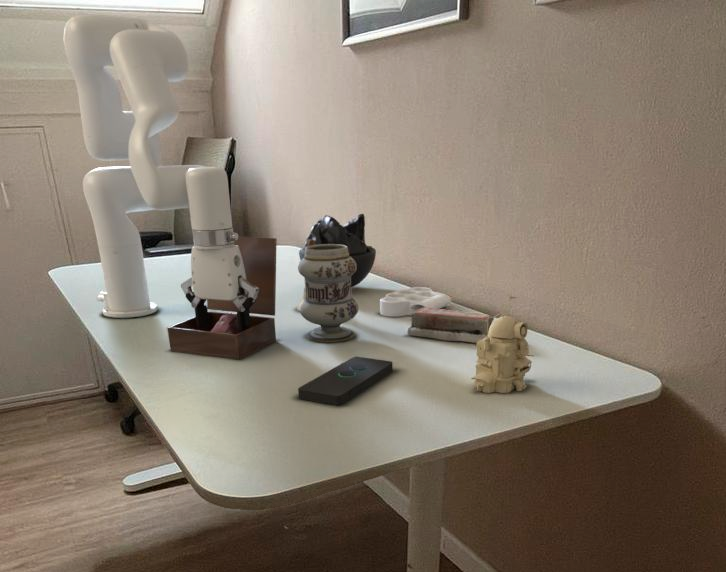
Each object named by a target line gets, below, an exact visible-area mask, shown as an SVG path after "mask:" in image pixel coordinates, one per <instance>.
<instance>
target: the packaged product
mask: <svg viewBox="0 0 726 572" xmlns="http://www.w3.org/2000/svg"><path fill="white" fill-rule="evenodd" d="M488 315H489V318H488ZM491 317H493V318H491ZM410 319H411V324H410V325H411V326H410V327H407V331H406V335H407V336H413V337H421V338H428V339H429V338H430V339H435V340H440V341H448V342H449V341H451V342H452V341H453V342H454V341H455V342H456V341H457V342H458V341H459V342H464V343H465V342H466V343H473V344H477V342H478V341H479V340H482V339H484V338H485V337H487V324H488V332H489V328H490V326H491V324H492V323H493V322H494V320H495V317H494V315H492V314H485V313H479V312H478V313H477V312H469V311H462V310H461V311H460V310H451V309H445V308H444V309H443V308H440V309H436V308H427V307H425V308H424V307H422V308H420V309H419V310H417V311H415V312H414V313H413V314H412V316H411V318H410Z"/></svg>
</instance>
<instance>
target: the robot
mask: <svg viewBox="0 0 726 572" xmlns="http://www.w3.org/2000/svg"><path fill="white" fill-rule="evenodd" d="M513 299H517V297H515V296H512V295H510V294H509V298H508V301H511V300H513ZM509 306H510V303H507V306H506V307H505V306H504V305H501V312H500V313H498V314H497V315H496V314H495V316H494V315H493V317H494V318H495V317H497V316H499V315H500V314H501V316H499V317H497V318H495V319H493V321H492V323H491V326H490V328H489V332H488V324H487V337H485V338H484V339H482V340H479V341H478V342H477V343H475V347H476V357H477V360H476V364H475V375H474V376H473V377H471V378H470V379H471V380H474V387H476V392H483V393H485V394H490V393H495V392H496V393H500V394H507V393H510V392H512V391H513V390H515V391H516V392H522V391H523V390H525V389H526V388H528V385H527V384H526V382H525V380H526V381H528V382H530V381H531V379H530V378H529V379H528V378H527V377H526V378H525V376H526V374H527V373H529V372H530V370H531V368H532V360H531V359H530V358H528V357H535V355H534V354H529V353H530V348H529V342H528V341H527V339H526V338H527V335H528V330H529V325H528V323H527V322H520V321H518V320H517V319H516V318H515V317H513V316H510V315H508V313H509V312H508V311H509V310H507V311H506V315H504V311H505V310H506V309H508V308H509ZM504 307H505V308H504ZM487 315H488V318H489V315H490V314H487ZM493 317H491V318H493Z"/></svg>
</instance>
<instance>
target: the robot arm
mask: <svg viewBox="0 0 726 572" xmlns="http://www.w3.org/2000/svg"><path fill="white" fill-rule="evenodd" d="M63 46H64V53H65V57H66V60H67V63H68V66H69V69H70V71H71V74H72V76H73V79H74V82H75V85H76V90H77V97H78V104H79V105H78V106H79V112H80V118H81V120H80V121H81V126H82V128H81V129H82V134H83V135H82V136H83V141H84V145H85V148H86V151H87V153H88V155H89V156H90V157H91V158H92V159H95V160H98V161H105V162H113V161H114V162H115V161H128V162H129V166H128V165H127V166H106V167H105V166H104V167H97V168H94V169H92V170H89V171H88V172H87V173H86V174H85V176H84V177H83V179H82V190H83V194H84V198H85V201H86V203H87V207H88V209H89V212H90V215H91V219H92V223H93V227H94V232H95V237H96V243H97V247H98V253H99V259H100V265H101V270H102V276H103V281H104V288H105V291H100V292H99V294H98V295H97V296H96V300H97V302H102V303H103V302H104V306H103V308H102V314H103V315H104V316H106V317H109V318H116V319H128V318H139V317H144V316H148V315H149V316H150V315H151V314H154V313H156V312H157V311H158V310H159V308H158V304H157V303H155V302H152V301H151V299H150V293H149V286H148V279H147V271H146V267H145V261H144V260H145V257H144V253H143V245H142V241H141V240H142V239H141V234H140V232H139V229H138V228H137V226H136V225H135V224H134V222H132V220H131V219H130V218H129V217H128V215H127V214H129V213H138V212H147V211H148V212H149V211H155V210H156V211H169V210H170V211H171V210H180V209H188V211H189V216H190V225H191V232H192V233H191V234H192V240H193V241H192V243H193V246H191V252H190V254H191V255H190V272H191V277H189V278H188V279H187V280H185V281H184V282H182V283H180V288H181V290H182V292H183V293H184V295H185V299H186V300H187V301H188V302H189V303H190V306H191V307H192V309H194V314H195V316H196V322H197V327H198V328H203V327H205V326H208V325H209V318H208V310H209V309H207V304H205V303H207V300H218V301H233V303H234V304H235V305H236V307H237V308H238V309H239V311H238V312H236V314H237V320H238V330H239V332H243V331H245V330H247V329H249V328H250V315H251V313H249V309H251V307H252V305H253V304H254V303H255V301H256V298H257V295H258V292H259V288H258V287H257V286H255V285H253V284H252V283H250V282H249V281H247V280H246V274H245V269H244V264H243V260H242V256H241V252H240V250H239V247H238V245H234V240H238V236H239V234H238V233H237V232H235V231H234V228H233V220H232V210H231V200H230V188H229V179H228V174H227V172H226V170H225V169H224V168H223V167H220V166H205V165H203V164H179V165H177V164H176V165H175V164H174V165H163V159H162V146H161V137H160V132H162V131H164V130H165V129H167V128H169V127H170V126H171V125H173V123H175V122H176V120H177V118H178V117H179V114H180V107H179V103H178V101H177V99H176V97H175V96H176V95H175V94H174V91H173V89H172V87H171V84H170V83H179V82H181V81H183V80H184V79H185V78H186V77H187V74H188V72H189V57H188V52H187V49H186V47H185V45H184V43H183V41H182V40H181V39H180V38H179V36H178V35H176V33H174V32H173V31H171V30H169V29H167V28H165V27H163V26H161V25H159V24H157V23H155V22H153V21H150V20H149V19H146V18H145V19H143V18H139V17H129V16H115V15H108V14H107V15H105V14H79V15H75V16H73V17H71V18H69V19H68V20H67V22H66V23H65V25H64V29H63ZM107 66H109V67H113V68H114V69H115V72H116V74H117V77H118V79H119V82H120V84H121V86H122V89H123V92H124V95H125V97H126V99H127V102H128V104H129V107H130V110H131V111H129V110H128V111H127V110H126V111H124V108H123V102H122V100H123V99H122V91H121V88H120V85H119V83H118V81H117V79H116V77H115V76H114V75H113V73H112V72H111V71H110V69H109V68H108V67H107ZM248 292H249V295H248V298H246V297H245V296H246V295H247V294H248Z"/></svg>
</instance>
